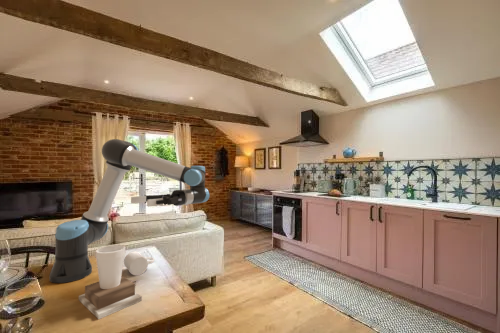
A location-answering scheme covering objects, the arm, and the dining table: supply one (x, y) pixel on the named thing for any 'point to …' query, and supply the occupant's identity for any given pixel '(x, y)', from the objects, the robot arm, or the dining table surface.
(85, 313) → the dining table surface
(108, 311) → the build base
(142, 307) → the dining table surface
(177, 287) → the dining table surface
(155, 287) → the dining table surface
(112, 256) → the foam cup
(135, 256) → the mug
